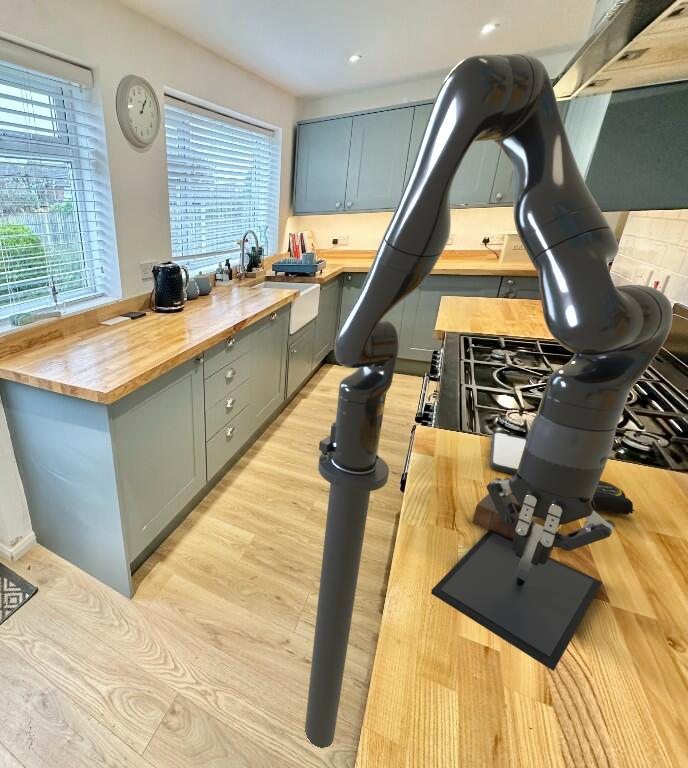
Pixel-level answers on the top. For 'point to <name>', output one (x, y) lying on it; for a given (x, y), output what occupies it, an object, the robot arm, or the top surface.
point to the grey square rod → (528, 555)
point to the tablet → (519, 598)
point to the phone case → (506, 452)
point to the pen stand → (497, 516)
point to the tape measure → (611, 499)
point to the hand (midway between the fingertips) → (527, 557)
